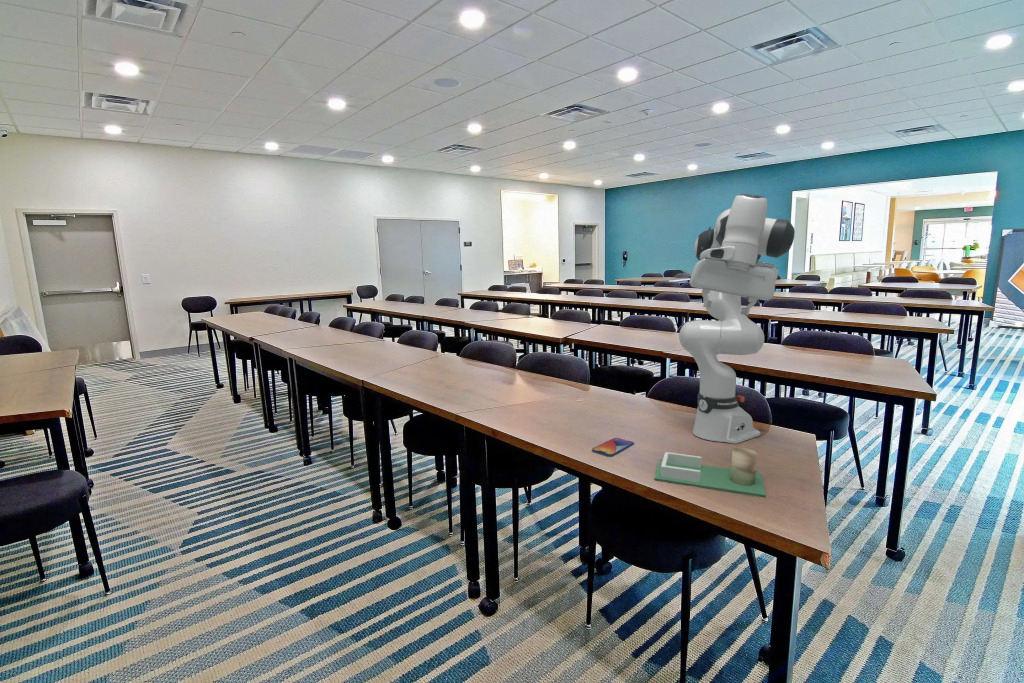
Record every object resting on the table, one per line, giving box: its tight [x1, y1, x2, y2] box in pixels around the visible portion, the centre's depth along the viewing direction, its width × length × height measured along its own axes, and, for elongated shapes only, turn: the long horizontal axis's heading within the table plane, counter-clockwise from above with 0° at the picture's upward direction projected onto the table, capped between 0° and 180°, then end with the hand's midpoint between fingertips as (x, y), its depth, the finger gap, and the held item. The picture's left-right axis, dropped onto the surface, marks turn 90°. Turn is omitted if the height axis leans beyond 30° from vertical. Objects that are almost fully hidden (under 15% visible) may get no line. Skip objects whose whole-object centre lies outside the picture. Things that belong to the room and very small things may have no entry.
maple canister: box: [730, 447, 758, 486], centre depth 131 cm, size 6×6×8 cm
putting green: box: [653, 451, 767, 498], centre depth 135 cm, size 27×14×4 cm, turn 67°
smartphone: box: [591, 437, 635, 458], centre depth 158 cm, size 7×15×1 cm, turn 138°
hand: (725, 311), depth 127 cm, fingers open, 8 cm apart
